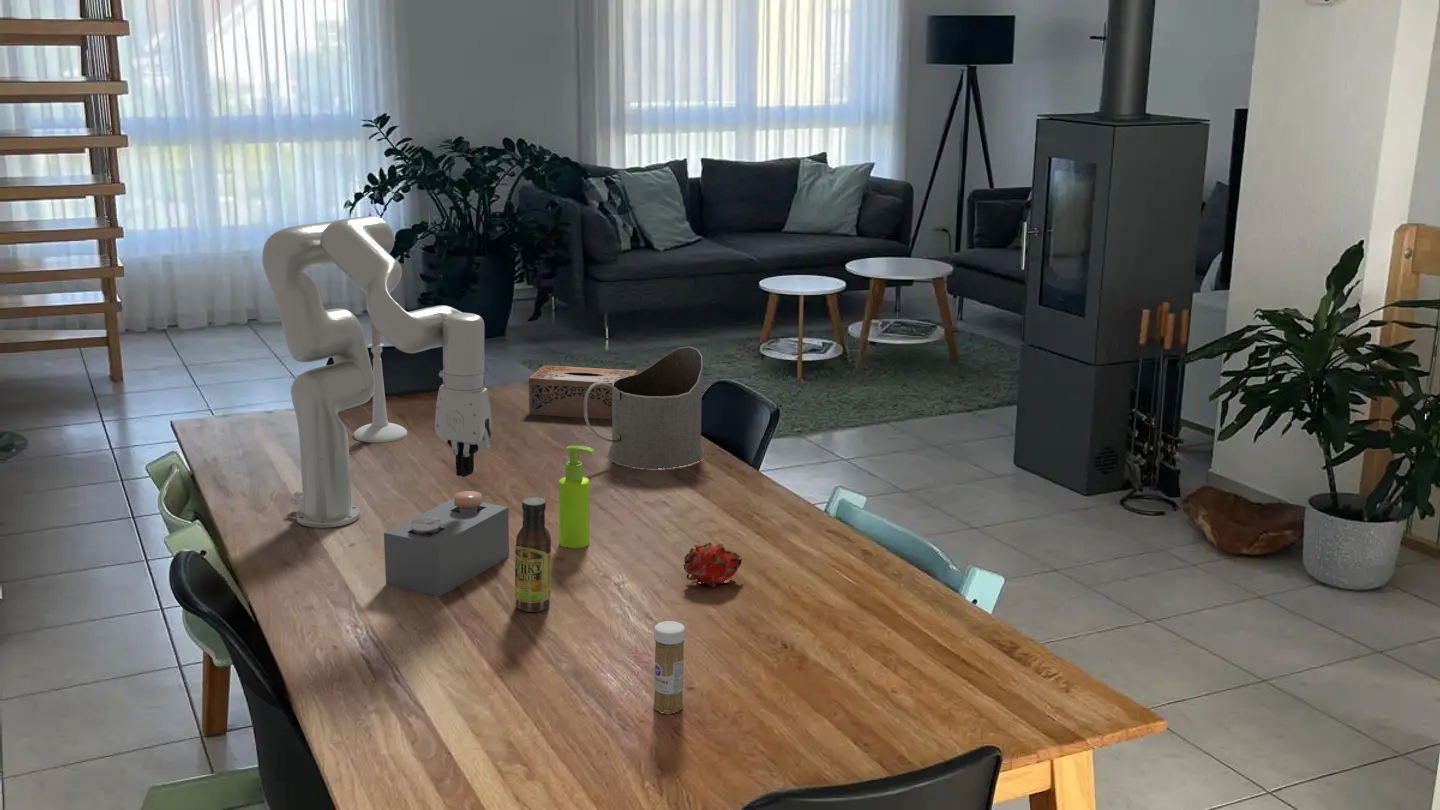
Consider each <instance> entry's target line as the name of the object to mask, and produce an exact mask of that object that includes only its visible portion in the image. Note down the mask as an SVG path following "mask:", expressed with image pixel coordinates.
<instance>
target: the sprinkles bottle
mask: <svg viewBox="0 0 1440 810" xmlns="http://www.w3.org/2000/svg"><path fill="white" fill-rule="evenodd" d="M653 637H654V641H655V649H654V650H655V653H654V654H655V656H654V678H653V679H654V680H653V681H654V683H653V684H654V695H653V696H654V699H653V700H654V702H653V709H654V708H655V709H656V710H657V711H660V712H664V713H673V712H677V711H679V710H681V709H682V710H683V708H684V704H683V696H684V695H683V692H684V691H683V690H684V667H685V666H684V663H685V661H684V660H685V659H684V658H685V657H684V650H685V649H684V643H685V639H686V628H685V626H684V624H683V623H680V622H679V621H673V620H666V621H661V622H659V623H657V624H655V626H654V635H653ZM655 709H654V710H655ZM656 710H655V711H656ZM682 710H681V711H682ZM657 711H656V712H657ZM679 712H680V711H679ZM677 713H678V712H677Z"/></svg>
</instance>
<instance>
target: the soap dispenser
mask: <svg viewBox="0 0 1440 810" xmlns="http://www.w3.org/2000/svg"><path fill="white" fill-rule="evenodd" d="M594 451H595V448H593V447H590V446H585V445H567V447H566V448H565V452H569V460H568V461H566V462H565V466H564V467H565V470H564V471H565V476H564V477H561V478H560V479H559V480H558V495H559V497H558V501H559V503H558V505H559V506H558V507H559V508H558V510H559V511H558V513H559V545H560V546H561V547H563V548H566V547H568V548H567V549H582V548H585V546H586V547H587V546H589V545H590V478H588V477H586V476H584V470H583V469H584V466H583V465H584V463H583V462H582V461H581V460H579V453H586V454H592V453H593V452H594Z"/></svg>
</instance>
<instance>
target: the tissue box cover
mask: <svg viewBox="0 0 1440 810" xmlns="http://www.w3.org/2000/svg"><path fill="white" fill-rule="evenodd" d="M638 373H639V371H638V370H631V369H618V368H617V369H616V368H600V367H599V368H597V367H585V366H584V367H583V366H582V367H581V366H565V365H564V366H563V365H562V366H561V365H548V364H547V365H546V364H544V365H542V366H541V367H539V369H538V370H536V371H535V372H533V374H532V375H531V376H529V377H528V406H529V407H528V413H529V415H537V416H538V415H539V416H540V415H541V416H551V417H554V416H555V417H567V418H569V417H570V418H580V419H581V418H583V419H585V417H584V397H585V394H586V392H587V390H588V388H589V387H590V386H591V385H592V384H594V383H598V382H604V383H608V384H611V385H613V382H615V381H616V380H618V379H621V378H624V377H627V376H631V375H635V374H638ZM587 415H588V419H597V418H601V419H600V420H612V387H610V386H608V385H597V386H595V387H594V388H593V389H592V390H591V391H590V393H589V396H588V400H587Z"/></svg>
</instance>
